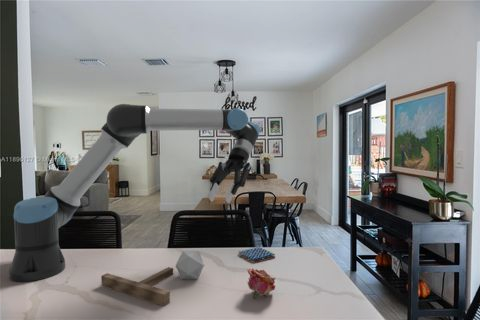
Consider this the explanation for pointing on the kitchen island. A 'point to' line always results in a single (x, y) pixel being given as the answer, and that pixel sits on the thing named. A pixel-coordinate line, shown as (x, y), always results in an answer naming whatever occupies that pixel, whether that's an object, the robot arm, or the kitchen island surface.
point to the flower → (260, 282)
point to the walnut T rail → (141, 286)
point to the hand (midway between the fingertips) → (218, 200)
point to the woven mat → (256, 254)
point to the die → (190, 265)
